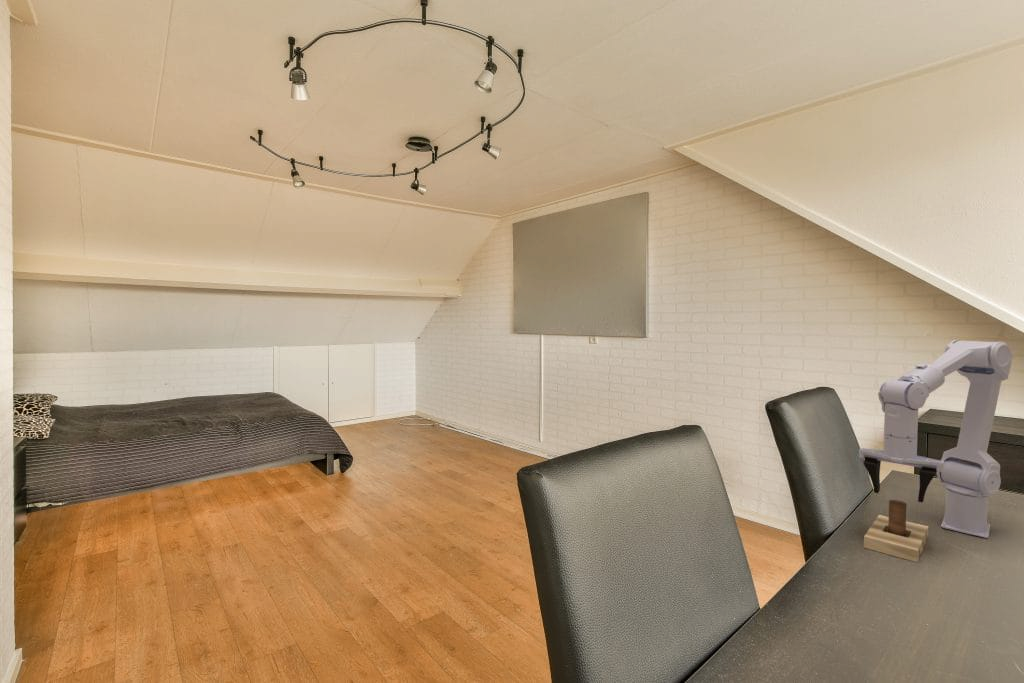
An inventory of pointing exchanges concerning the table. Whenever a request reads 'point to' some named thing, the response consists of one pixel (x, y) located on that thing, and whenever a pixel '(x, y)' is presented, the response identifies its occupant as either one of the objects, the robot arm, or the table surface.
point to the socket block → (896, 539)
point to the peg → (897, 518)
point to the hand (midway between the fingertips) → (898, 496)
